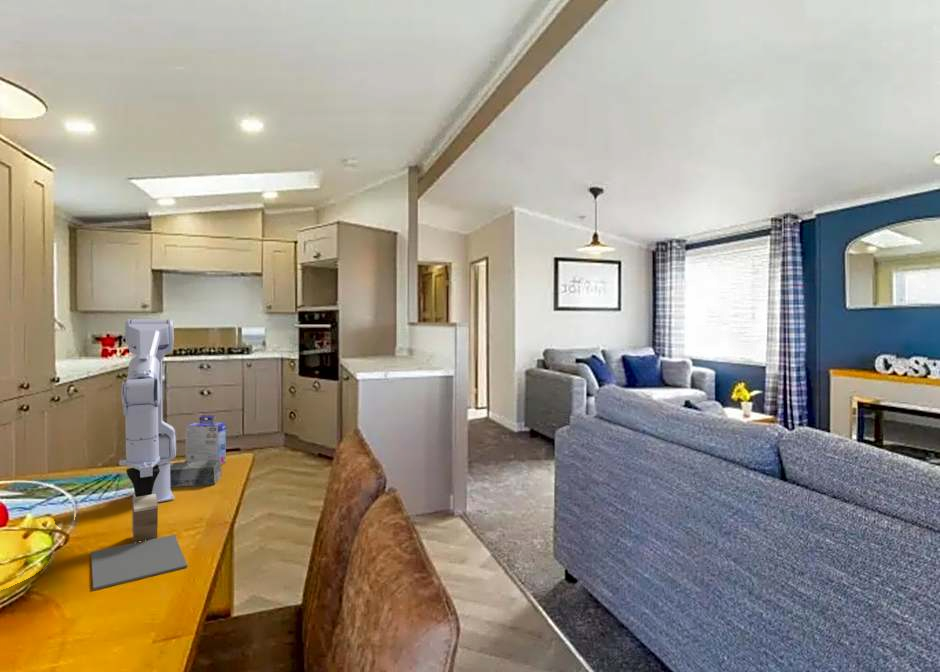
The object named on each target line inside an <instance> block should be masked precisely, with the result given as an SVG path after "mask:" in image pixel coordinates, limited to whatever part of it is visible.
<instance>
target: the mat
mask: <svg viewBox="0 0 940 672" xmlns="http://www.w3.org/2000/svg"><path fill="white" fill-rule="evenodd" d="M90 554H91V572H92V573H91V575H92V588H93V589H92V591H96V590H101V589H104V588H108V587H112V586H118V585H120V584H125V583H128V582H133V581H137V580H142V579H145V578H149V577H153V576H157V575H161V574H164V573H165V574H166V573H168V572H169V573H170V572H174V571H177V570H178V571H179V570H182V569H185V568H188V563H187V561H186V558H185V556H184V553H183V552H182V549H181V547H180V544H179V541H178V540H177V537H176V535H175V534H169V535H166V536H161V537H157V538H155V539H150V540H146V541H141V542H136V543H134V542H132V543H127V544H123V545H119V546H113V547H109V548H104V549H99V550H95V551H91V553H90Z"/></svg>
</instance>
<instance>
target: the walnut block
mask: <svg viewBox="0 0 940 672" xmlns="http://www.w3.org/2000/svg"><path fill="white" fill-rule="evenodd" d="M158 503H159V502H157V498H156V494H151V495H145V496H139V497H132V513H131V514H132V516H131V517H132V524H131V525H132V529H131V530H132V537H133V543H135V542H139V541H145V540H150V539H155V538H158V522H159V521H158V519H159V515H158V514H159V512H158V511H159V504H158Z"/></svg>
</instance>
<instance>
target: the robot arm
mask: <svg viewBox="0 0 940 672" xmlns="http://www.w3.org/2000/svg"><path fill="white" fill-rule="evenodd" d="M174 327H175V326H174V320H173V319H171V318H167V319H165V318H162V319H161V318H156V319H155V318H146V319H145V318H144V319H143V318H139V319H138V318H137V319H136V318H135V319H134V318H127V320H125V323H124V338H125V343H126V346H127V349H128V350H129V352H130V353H131V354H133V355H135V356H134V357H132V358H131V359H130V361H129V364H128V368H127V369H128V370H127V376H126V381H122V385H121V390H120V392H121V395H120V396H121V403H122V408H123V417H125V418H124V419H125V425H124V426H125V459H120V460H119V461H118V464H119V466H127V467H129V468H127V469H126V470H125V471H126V475H127V476H128V478H129V479H130V481H131V483H132V486H133V490H134V492H133V493H132V496H133V497H139V496H145V495H151V494H156V498H157V503H162V502H166V501H167V502H168V501H172V500H175V495H174V494H173V492H172V490H171V487H170V463H171V461H172V460H174V459H175V458H176V457H177V456H176V455H177V438H176V437H177V436H176V429H175V428H174V426H172V425H171V424H170V423H167V422H165V421H164V419H163V363H164V359H165V356H166V355H167V354H171V353H172V352H173V349H174V341H175V328H174ZM133 497H132V498H133Z"/></svg>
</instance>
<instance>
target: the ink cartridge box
mask: <svg viewBox="0 0 940 672" xmlns="http://www.w3.org/2000/svg"><path fill="white" fill-rule="evenodd" d="M214 417H215V415H209V414H208V415H207V414H205V415H201V418H200V422H193V423H190V424H188V425H186V426H185V461H188V462H195V461H207V460H219V459H221V465H223V464H225V463H226V462H227V455H226V453H227V451H226V449H227V444H226V443H227V441H226V439H227V436H226V435H227V432H226V431H227V429H226V428H227V426H226V425H227V423H226V422H214V419H215V418H214ZM207 418H209V419H207Z"/></svg>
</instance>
